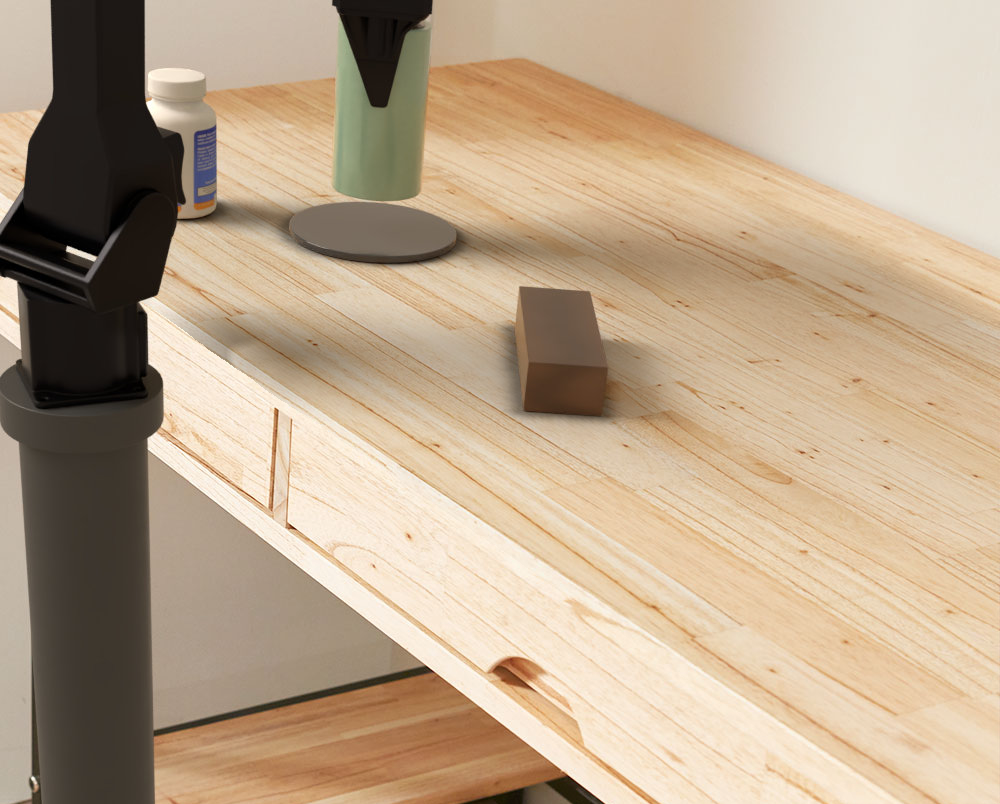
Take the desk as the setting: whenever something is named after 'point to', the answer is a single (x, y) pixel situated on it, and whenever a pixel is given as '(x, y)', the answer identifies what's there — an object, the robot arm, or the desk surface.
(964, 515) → the desk surface
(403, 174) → the cup
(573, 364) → the prop block
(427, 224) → the coaster
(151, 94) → the pill bottle
